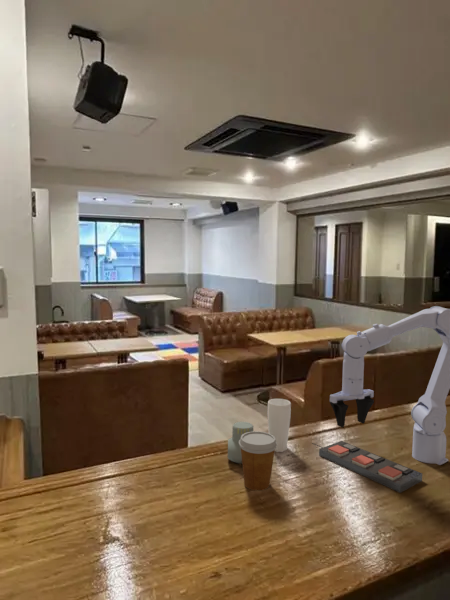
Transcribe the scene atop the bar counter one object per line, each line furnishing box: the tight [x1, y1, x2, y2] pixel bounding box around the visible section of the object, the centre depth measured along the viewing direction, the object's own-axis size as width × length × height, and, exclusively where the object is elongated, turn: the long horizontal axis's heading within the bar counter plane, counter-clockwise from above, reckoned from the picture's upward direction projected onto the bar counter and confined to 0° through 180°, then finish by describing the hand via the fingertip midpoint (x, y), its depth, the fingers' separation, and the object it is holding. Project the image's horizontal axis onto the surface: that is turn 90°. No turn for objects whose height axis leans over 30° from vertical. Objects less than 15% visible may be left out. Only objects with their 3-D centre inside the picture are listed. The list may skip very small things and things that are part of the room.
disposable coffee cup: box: [239, 430, 277, 491], centre depth 109 cm, size 10×10×12 cm
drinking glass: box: [267, 398, 292, 453], centre depth 128 cm, size 7×7×15 cm
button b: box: [352, 455, 374, 468], centre depth 116 cm, size 4×4×3 cm
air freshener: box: [227, 421, 254, 465], centre depth 123 cm, size 11×8×10 cm
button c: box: [378, 466, 402, 481], centre depth 109 cm, size 4×4×3 cm
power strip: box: [311, 440, 423, 494], centre depth 120 cm, size 10×32×4 cm, turn 37°
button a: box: [328, 445, 349, 457], centre depth 122 cm, size 4×4×3 cm
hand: (350, 424), depth 125 cm, fingers open, 7 cm apart
